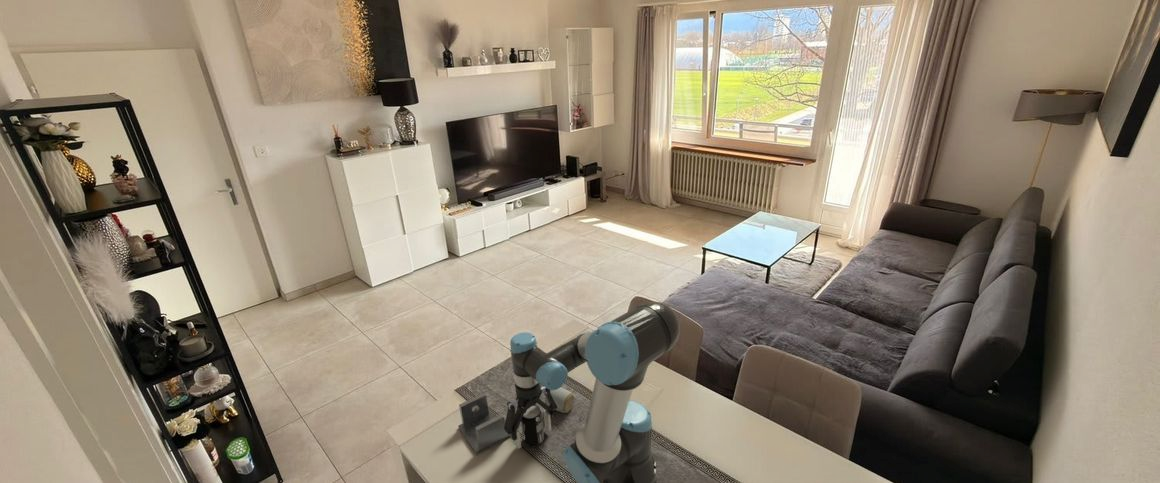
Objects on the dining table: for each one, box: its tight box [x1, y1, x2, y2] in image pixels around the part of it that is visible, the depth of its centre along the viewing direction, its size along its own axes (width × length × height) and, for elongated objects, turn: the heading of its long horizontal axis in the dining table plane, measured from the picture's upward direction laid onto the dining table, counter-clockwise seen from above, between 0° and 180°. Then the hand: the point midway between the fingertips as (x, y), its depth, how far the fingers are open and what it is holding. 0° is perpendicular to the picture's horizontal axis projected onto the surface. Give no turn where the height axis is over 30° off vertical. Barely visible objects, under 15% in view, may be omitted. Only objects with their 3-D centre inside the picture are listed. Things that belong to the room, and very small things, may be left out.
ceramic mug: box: [544, 387, 576, 414], centre depth 164 cm, size 11×8×8 cm
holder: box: [457, 392, 511, 456], centre depth 154 cm, size 14×12×9 cm
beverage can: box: [520, 404, 545, 447], centre depth 149 cm, size 7×7×12 cm
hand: (533, 436), depth 151 cm, fingers open, 10 cm apart
